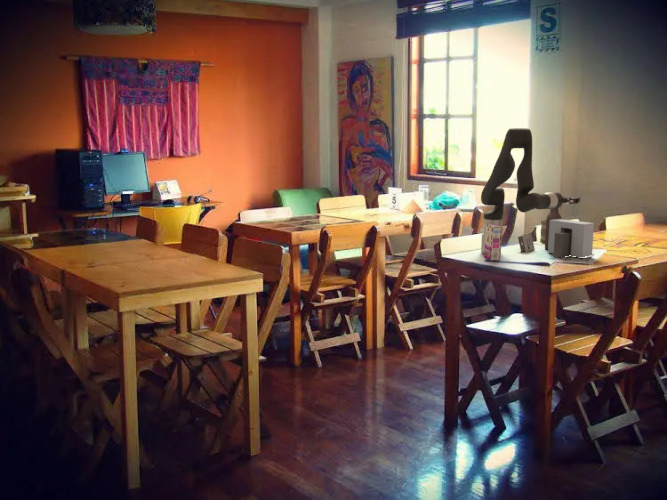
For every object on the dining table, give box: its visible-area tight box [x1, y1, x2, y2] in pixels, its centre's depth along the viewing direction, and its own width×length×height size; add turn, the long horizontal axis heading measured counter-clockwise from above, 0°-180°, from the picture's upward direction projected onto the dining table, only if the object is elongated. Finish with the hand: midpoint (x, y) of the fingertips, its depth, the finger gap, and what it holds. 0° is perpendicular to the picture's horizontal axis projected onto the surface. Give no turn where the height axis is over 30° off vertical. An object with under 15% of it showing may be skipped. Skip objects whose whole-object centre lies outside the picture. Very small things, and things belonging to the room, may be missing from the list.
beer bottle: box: [544, 208, 562, 251], centre depth 402 cm, size 8×8×30 cm
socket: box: [547, 218, 595, 257], centre depth 386 cm, size 8×20×17 cm, turn 39°
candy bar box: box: [483, 224, 503, 262], centre depth 374 cm, size 11×5×16 cm, turn 5°
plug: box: [553, 232, 572, 258], centre depth 383 cm, size 9×4×12 cm, turn 129°
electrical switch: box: [517, 232, 535, 253], centre depth 400 cm, size 9×5×9 cm, turn 141°
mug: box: [539, 219, 546, 244], centre depth 427 cm, size 16×11×12 cm
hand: (571, 198), depth 365 cm, fingers open, 8 cm apart
